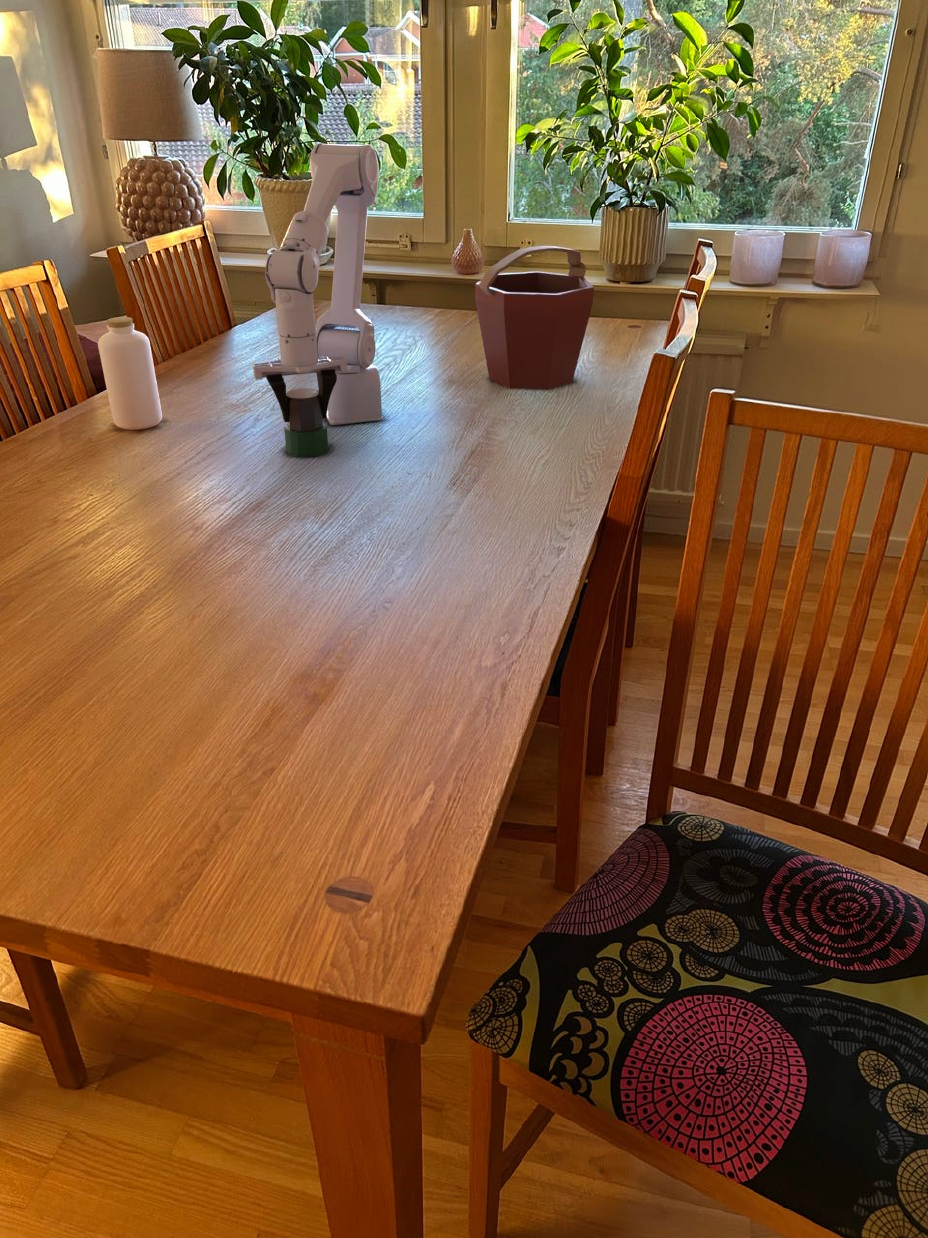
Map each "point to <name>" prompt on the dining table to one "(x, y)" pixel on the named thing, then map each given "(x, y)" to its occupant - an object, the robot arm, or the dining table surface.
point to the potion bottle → (129, 375)
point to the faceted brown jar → (304, 410)
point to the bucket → (533, 321)
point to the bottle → (306, 442)
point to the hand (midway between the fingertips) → (304, 418)
